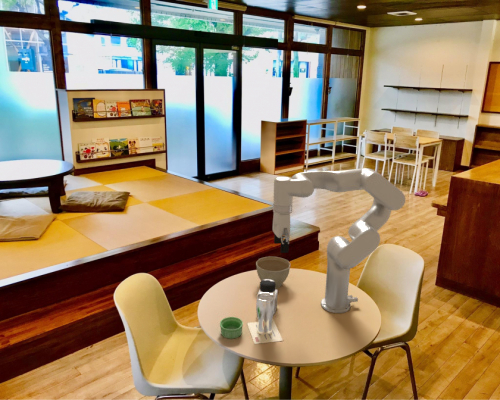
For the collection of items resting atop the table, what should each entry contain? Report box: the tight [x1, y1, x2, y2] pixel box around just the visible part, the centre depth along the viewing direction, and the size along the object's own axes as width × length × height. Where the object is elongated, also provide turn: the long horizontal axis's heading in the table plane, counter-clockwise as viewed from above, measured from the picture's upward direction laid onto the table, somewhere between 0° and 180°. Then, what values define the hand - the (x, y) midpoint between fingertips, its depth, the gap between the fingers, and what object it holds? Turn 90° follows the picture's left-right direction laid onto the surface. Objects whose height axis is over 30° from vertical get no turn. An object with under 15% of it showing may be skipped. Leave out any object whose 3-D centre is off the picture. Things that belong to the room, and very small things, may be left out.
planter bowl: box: [255, 256, 291, 289], centre depth 200 cm, size 16×16×11 cm
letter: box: [246, 319, 284, 345], centre depth 164 cm, size 11×14×1 cm
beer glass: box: [255, 292, 275, 335], centre depth 162 cm, size 7×7×15 cm
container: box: [257, 279, 279, 315], centre depth 178 cm, size 8×8×13 cm
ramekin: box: [219, 316, 244, 340], centre depth 162 cm, size 9×9×4 cm
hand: (281, 247), depth 172 cm, fingers open, 9 cm apart
